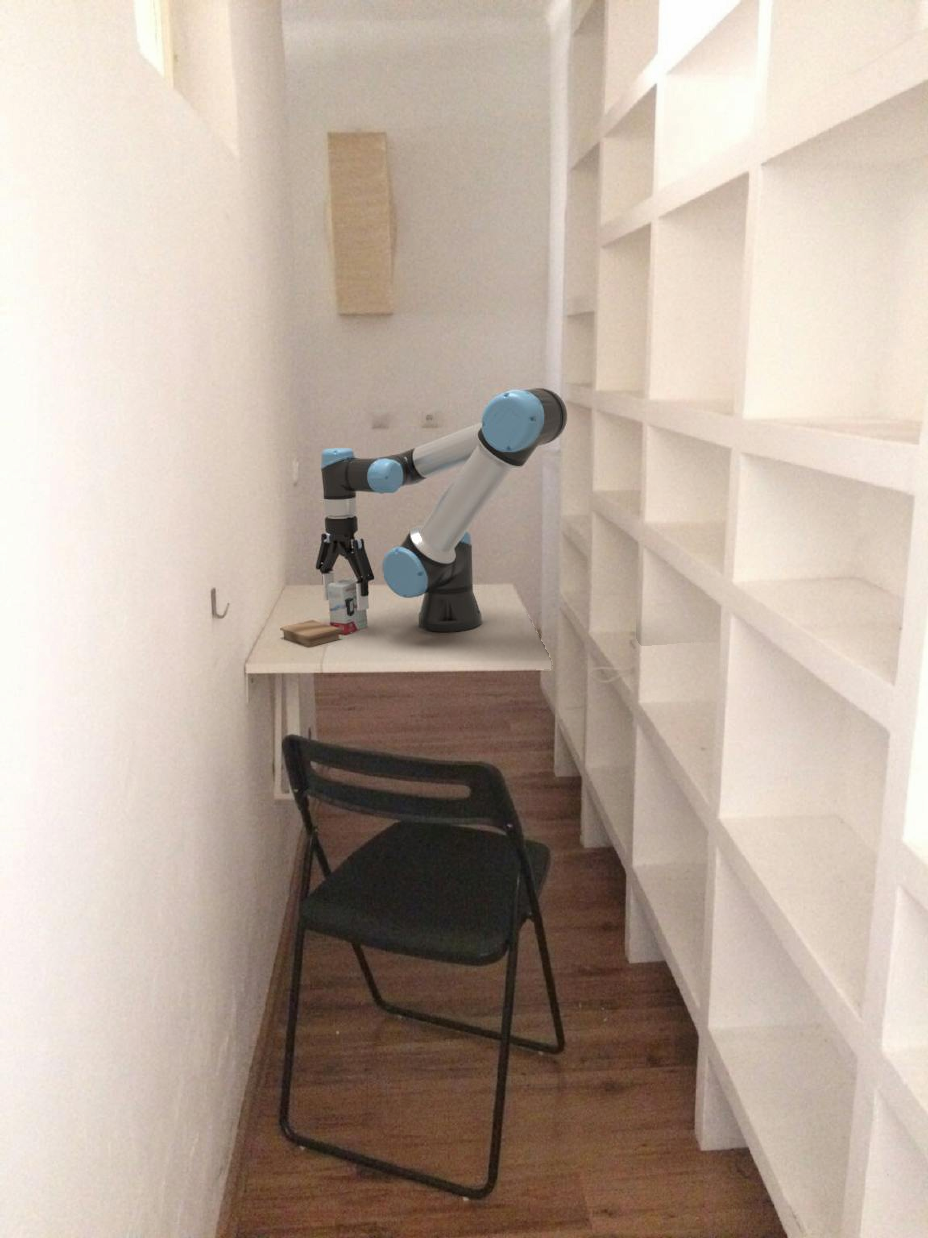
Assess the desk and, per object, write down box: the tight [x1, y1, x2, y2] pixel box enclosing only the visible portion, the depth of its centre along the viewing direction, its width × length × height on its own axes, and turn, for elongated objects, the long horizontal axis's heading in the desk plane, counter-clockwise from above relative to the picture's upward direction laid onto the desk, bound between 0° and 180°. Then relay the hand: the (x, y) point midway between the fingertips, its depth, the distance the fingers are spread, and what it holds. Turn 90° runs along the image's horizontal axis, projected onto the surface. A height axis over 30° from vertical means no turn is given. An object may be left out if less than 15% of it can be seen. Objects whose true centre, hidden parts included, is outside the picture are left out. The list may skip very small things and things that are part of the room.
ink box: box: [328, 577, 368, 636], centre depth 230 cm, size 9×5×12 cm, turn 148°
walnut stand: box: [279, 619, 342, 648], centre depth 225 cm, size 12×9×2 cm
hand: (346, 604), depth 231 cm, fingers open, 13 cm apart
